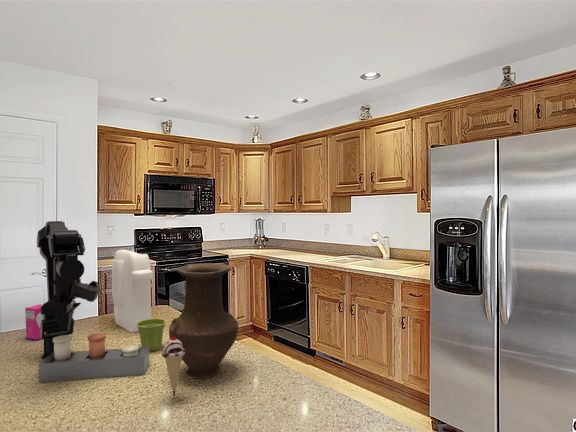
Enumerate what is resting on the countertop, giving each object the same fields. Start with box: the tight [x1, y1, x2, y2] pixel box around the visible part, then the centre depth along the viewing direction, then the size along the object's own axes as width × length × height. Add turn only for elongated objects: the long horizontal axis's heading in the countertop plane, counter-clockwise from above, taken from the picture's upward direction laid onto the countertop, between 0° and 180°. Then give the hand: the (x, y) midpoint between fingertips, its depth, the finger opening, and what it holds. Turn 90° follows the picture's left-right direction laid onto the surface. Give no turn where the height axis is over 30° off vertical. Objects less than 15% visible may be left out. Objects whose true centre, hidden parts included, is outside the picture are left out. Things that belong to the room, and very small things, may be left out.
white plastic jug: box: [111, 249, 154, 333], centre depth 153 cm, size 27×11×30 cm, turn 43°
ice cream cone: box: [161, 337, 186, 397], centre depth 95 cm, size 6×6×15 cm
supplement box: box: [24, 303, 46, 342], centre depth 140 cm, size 6×6×12 cm
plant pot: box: [136, 318, 167, 352], centre depth 129 cm, size 9×9×9 cm
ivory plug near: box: [53, 334, 73, 361], centre depth 108 cm, size 5×5×6 cm
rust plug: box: [87, 332, 107, 358], centre depth 110 cm, size 5×5×6 cm
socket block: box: [37, 346, 150, 383], centre depth 110 cm, size 27×8×5 cm, turn 100°
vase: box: [168, 263, 239, 379], centre depth 110 cm, size 19×19×30 cm
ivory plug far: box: [121, 344, 140, 356], centre depth 111 cm, size 5×5×6 cm
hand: (66, 330), depth 108 cm, fingers closed
